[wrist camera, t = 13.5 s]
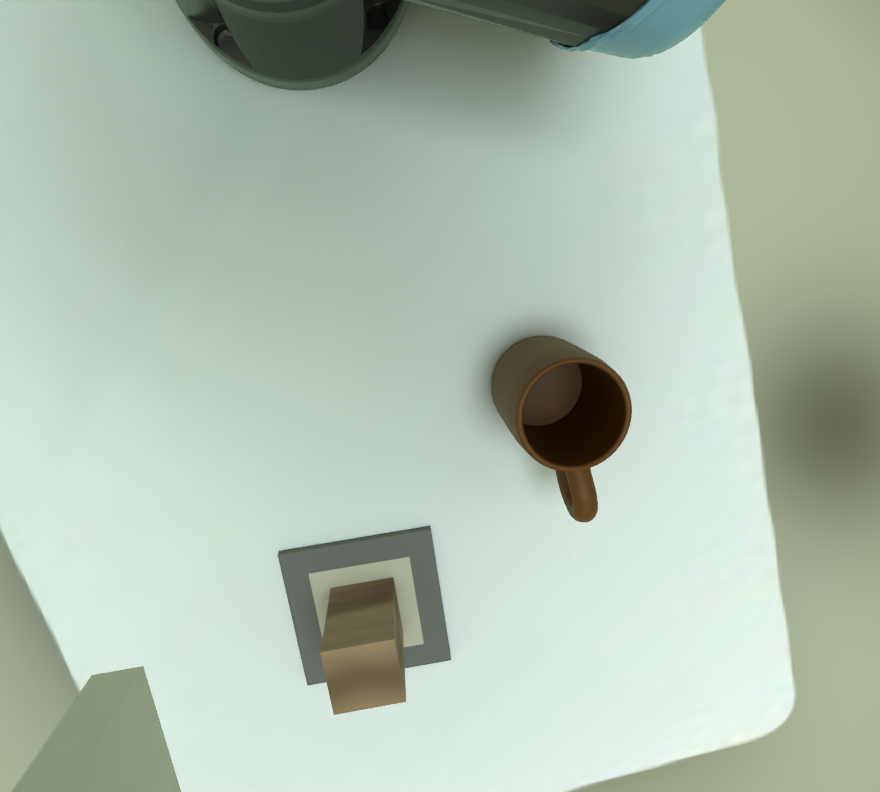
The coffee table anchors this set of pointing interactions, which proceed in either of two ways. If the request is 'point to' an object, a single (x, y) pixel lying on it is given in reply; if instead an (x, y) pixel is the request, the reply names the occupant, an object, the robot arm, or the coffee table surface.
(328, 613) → the walnut block
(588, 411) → the mug
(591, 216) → the coffee table surface
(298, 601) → the mat
